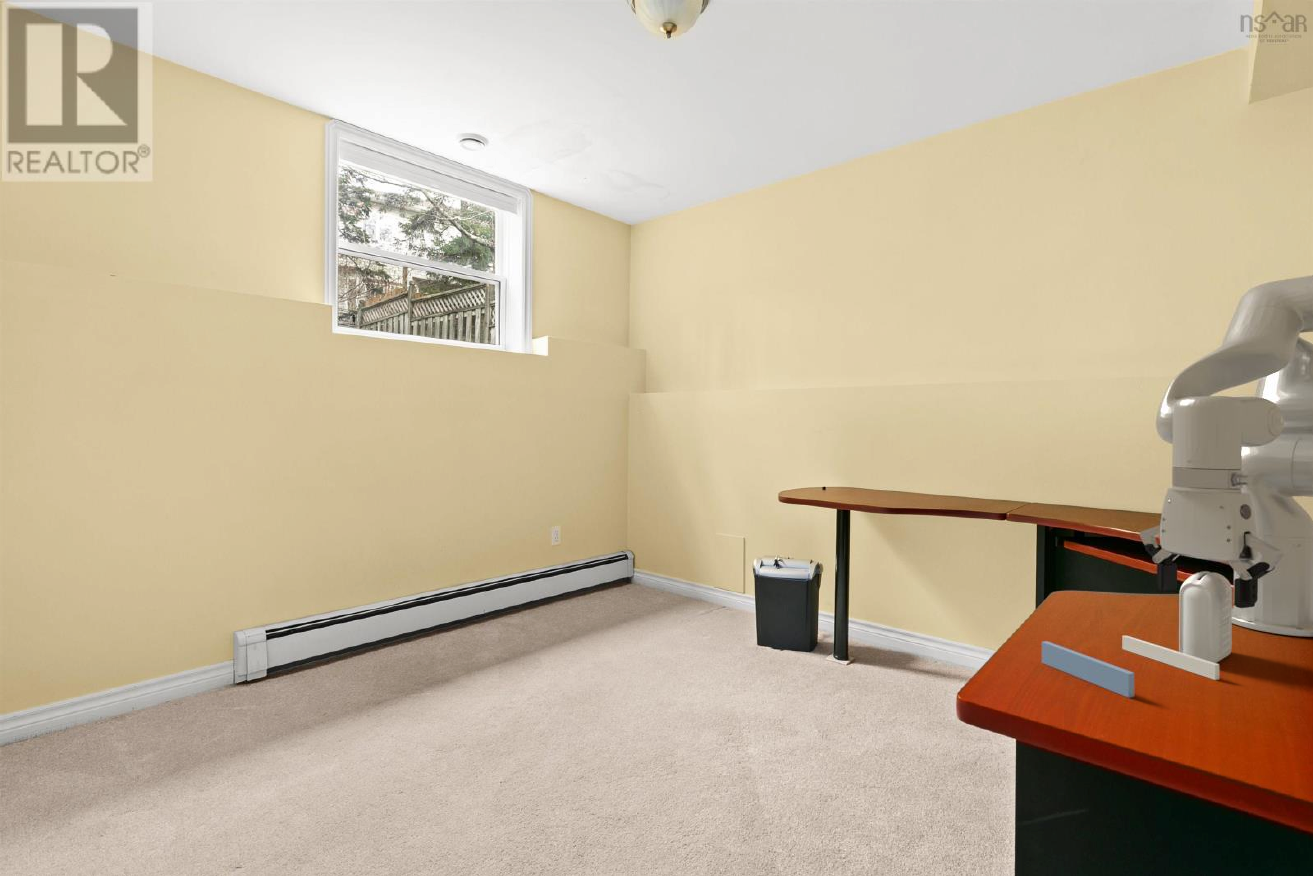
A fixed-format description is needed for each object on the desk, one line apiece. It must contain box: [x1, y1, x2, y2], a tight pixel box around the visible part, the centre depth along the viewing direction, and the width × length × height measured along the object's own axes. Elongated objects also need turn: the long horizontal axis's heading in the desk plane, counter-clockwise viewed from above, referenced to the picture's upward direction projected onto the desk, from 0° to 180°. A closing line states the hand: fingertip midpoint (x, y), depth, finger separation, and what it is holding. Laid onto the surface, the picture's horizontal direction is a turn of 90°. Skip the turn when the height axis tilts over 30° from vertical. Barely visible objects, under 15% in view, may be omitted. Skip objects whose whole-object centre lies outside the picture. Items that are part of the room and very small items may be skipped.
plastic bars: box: [1041, 635, 1220, 699], centre depth 84 cm, size 17×12×3 cm
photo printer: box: [1178, 570, 1233, 664], centre depth 89 cm, size 10×4×12 cm, turn 123°
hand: (1203, 597), depth 89 cm, fingers open, 9 cm apart
